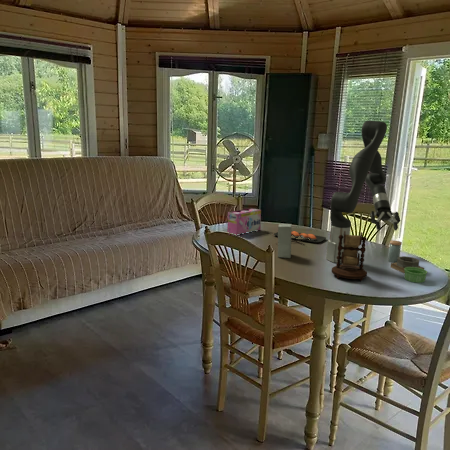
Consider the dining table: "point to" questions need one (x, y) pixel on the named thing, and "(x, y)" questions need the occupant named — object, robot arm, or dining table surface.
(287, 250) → the skincare box
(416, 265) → the socket
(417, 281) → the ramekin
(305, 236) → the sushi plate
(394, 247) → the canister
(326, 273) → the dining table surface
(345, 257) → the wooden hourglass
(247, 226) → the gum box
